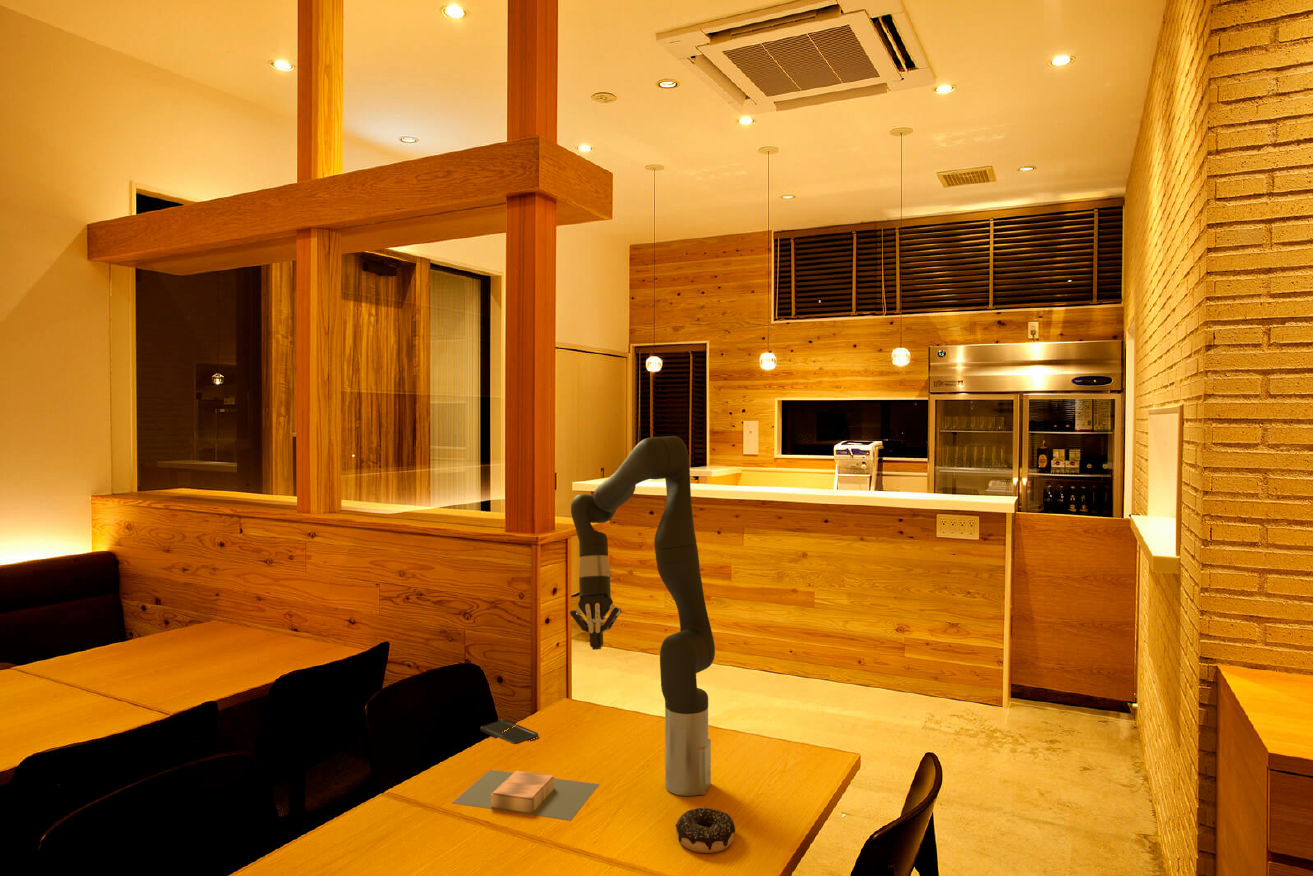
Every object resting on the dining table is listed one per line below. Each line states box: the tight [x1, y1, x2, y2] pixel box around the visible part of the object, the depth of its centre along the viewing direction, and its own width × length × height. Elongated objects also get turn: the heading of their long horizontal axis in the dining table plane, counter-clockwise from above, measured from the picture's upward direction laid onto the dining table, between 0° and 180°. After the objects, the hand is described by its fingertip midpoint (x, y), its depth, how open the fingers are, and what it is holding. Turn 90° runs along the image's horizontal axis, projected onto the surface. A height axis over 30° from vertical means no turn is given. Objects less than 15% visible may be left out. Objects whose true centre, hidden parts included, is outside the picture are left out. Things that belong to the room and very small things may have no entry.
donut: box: [675, 807, 736, 854], centre depth 145 cm, size 11×12×4 cm
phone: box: [480, 719, 539, 745], centre depth 196 cm, size 8×1×15 cm
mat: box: [451, 769, 600, 822], centre depth 162 cm, size 26×16×1 cm, turn 74°
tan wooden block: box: [491, 770, 556, 813], centre depth 161 cm, size 9×3×11 cm
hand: (596, 649), depth 185 cm, fingers closed
